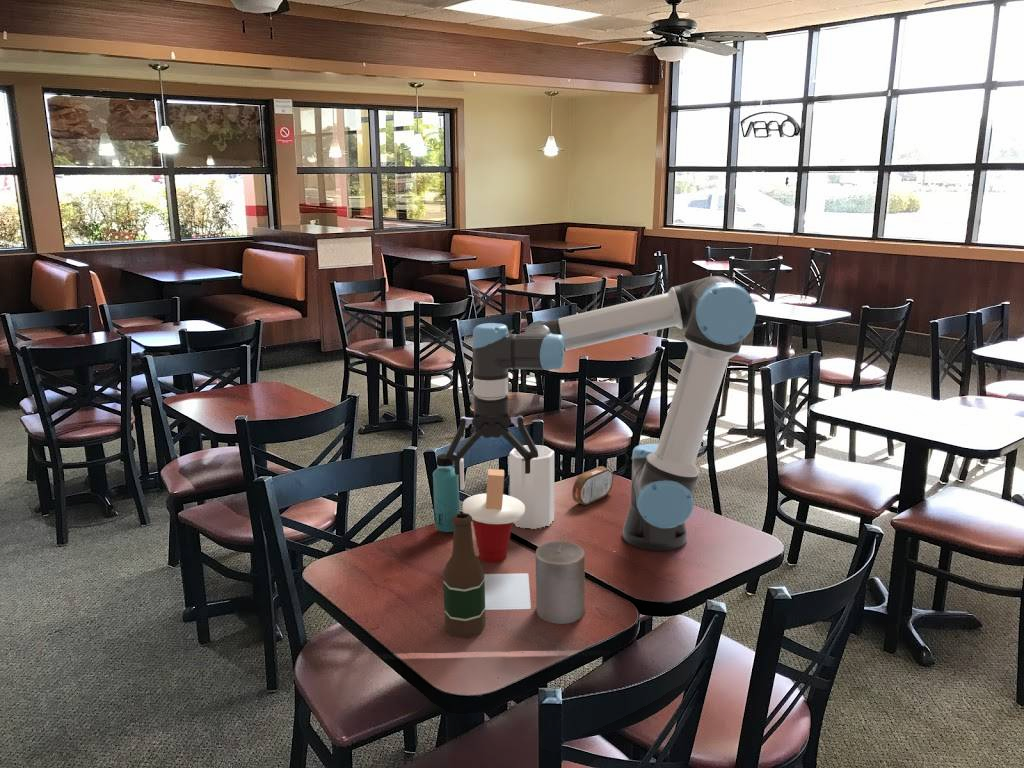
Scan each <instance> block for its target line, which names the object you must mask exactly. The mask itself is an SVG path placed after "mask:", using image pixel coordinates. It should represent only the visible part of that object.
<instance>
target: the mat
mask: <svg viewBox="0 0 1024 768" xmlns="http://www.w3.org/2000/svg"><path fill="white" fill-rule="evenodd" d="M529 577H530V576H529V573H528V572H527V573H523V572H521V573H484V578H485V611H501V610H502V611H503V610H505V611H508V610H510V611H511V610H512V611H513V610H531V609H532V604H531V592H530V580H529V579H530V578H529Z"/></svg>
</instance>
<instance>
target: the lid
mask: <svg viewBox="0 0 1024 768" xmlns="http://www.w3.org/2000/svg"><path fill="white" fill-rule="evenodd" d="M504 484H505V470H504V469H497V468H496V469H495V468H494V469H493V468H488V469H487V481H486V493H485V492H484V493H477V494H474V495H471V496H468V497H467V498H465V499H464V500H463V502H462V506H461V507H462V508H461V510H462V511H461V512H462V513H467V514H469V515H470V516H471V517H472V520H475V521H478V522H481V523H487V524H507V523H512V522H515V521H518V520H520V519H521V518H522V517H523V516H524V514H525V505H524V504H523V503H522V502H521V501H520V500H518V499H516V498H514V497H511V496H510V495H507V494H504Z"/></svg>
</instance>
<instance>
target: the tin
mask: <svg viewBox="0 0 1024 768" xmlns="http://www.w3.org/2000/svg"><path fill="white" fill-rule="evenodd" d="M613 485H614V473H613V471H612V470H611V469H610V468H606V467H605V466H603V465H601V466H598V467H595V468H593V469H591V470H588V471H584V472H582V473H581V474H580V475H579V476H578V477H577V478H576V480H575V481H574V483H573V486H572V490H571V491H572V495H571V496H572V500H573V501H574V502H576V503H577V504H581V505H583V506H584V505H585V506H587V505H589V504H592V503H594V502H596V501H598V500H600V499H603V498H605V497H606V496H607V495H608V494H609V493H610V492H611V490H612V487H613Z"/></svg>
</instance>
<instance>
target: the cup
mask: <svg viewBox="0 0 1024 768" xmlns="http://www.w3.org/2000/svg"><path fill="white" fill-rule="evenodd" d="M535 446H536V448H537V450H538V457H537V458H532V459H531V460H530V473H529V474H525V489H522V478H521V457H522V456H521V454H520V453H519V452H518V451H517V450H516V449H515V448H514V447H513V448H512V450H511V451H510V452H509V453H508V454H509V456H508V457H509V458H508V459H509V464H508V465H509V496H511V497H514V498H516V499H518V500H520V501H521V502H522V503H523V504H524V505H525V514H524V516H523V517H522V518H521V519H520V520H518V521H515V522H514V524H515V527H517V528H518V527H520V528H519V529H525V528H531V529H530V530H533V529H535V530H537V529H536V528H539V529H542V528H541V527H544V528H546V527H545V526H548V527H550V526H551V525H552V523H553V522H552V521H555V451H554V449H551V448H549V447H548V446H546V445H541V444H539V445H537V444H535ZM523 447H524V448H525V449H526V450H527V451H528V452H530V449H529V448H528V446H527V444H526V445H523ZM514 524H513V525H514ZM550 524H551V525H550Z"/></svg>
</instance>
